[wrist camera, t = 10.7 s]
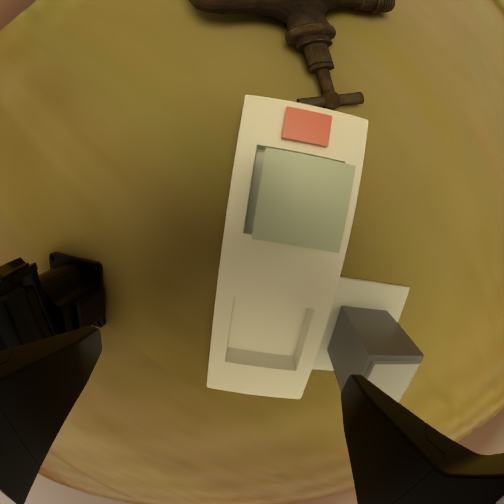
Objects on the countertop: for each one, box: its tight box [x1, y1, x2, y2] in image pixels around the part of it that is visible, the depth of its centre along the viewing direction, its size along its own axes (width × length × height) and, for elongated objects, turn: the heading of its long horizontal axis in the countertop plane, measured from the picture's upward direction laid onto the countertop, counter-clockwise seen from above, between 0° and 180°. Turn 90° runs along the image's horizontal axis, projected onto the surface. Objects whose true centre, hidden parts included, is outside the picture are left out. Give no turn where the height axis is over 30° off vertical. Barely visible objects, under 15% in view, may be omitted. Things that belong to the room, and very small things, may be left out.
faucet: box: [189, 0, 395, 109], centre depth 14 cm, size 5×17×15 cm
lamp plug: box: [251, 147, 356, 253], centre depth 15 cm, size 4×4×6 cm
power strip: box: [207, 95, 368, 399], centre depth 19 cm, size 22×8×4 cm, turn 171°
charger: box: [327, 305, 424, 402], centre depth 18 cm, size 4×4×7 cm
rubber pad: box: [312, 276, 410, 371], centre depth 22 cm, size 8×9×1 cm
